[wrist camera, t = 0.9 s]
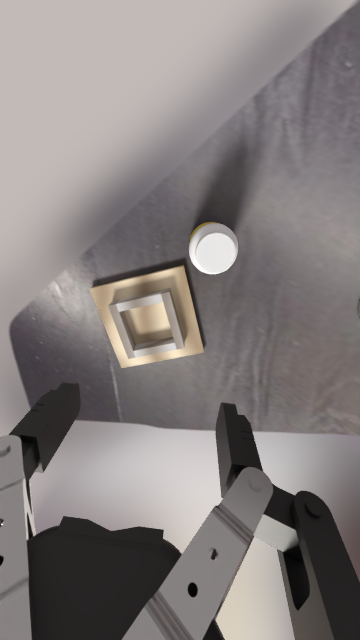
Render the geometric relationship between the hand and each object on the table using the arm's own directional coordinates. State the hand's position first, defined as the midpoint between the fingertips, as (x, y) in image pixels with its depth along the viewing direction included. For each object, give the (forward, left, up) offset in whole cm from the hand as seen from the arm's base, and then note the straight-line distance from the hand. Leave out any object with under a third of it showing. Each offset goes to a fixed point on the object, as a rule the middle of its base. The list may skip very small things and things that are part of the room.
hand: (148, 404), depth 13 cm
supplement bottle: (-6, -5, -24) cm, 25 cm away
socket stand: (+5, +4, -24) cm, 24 cm away
